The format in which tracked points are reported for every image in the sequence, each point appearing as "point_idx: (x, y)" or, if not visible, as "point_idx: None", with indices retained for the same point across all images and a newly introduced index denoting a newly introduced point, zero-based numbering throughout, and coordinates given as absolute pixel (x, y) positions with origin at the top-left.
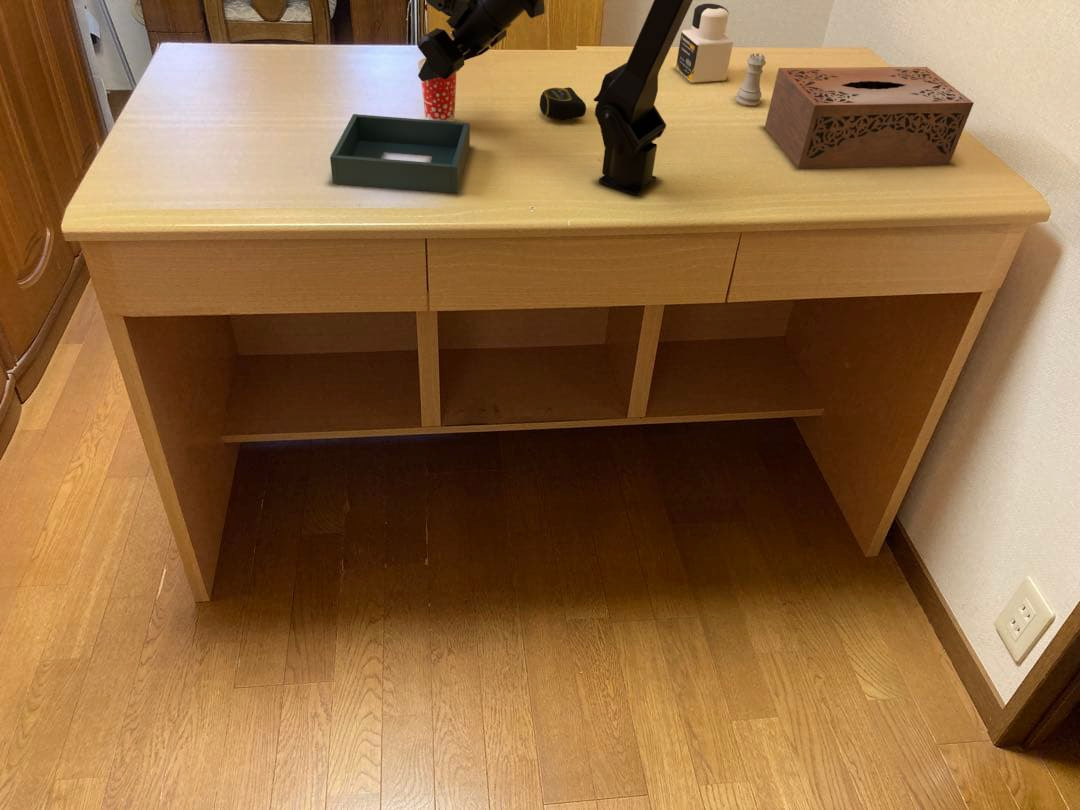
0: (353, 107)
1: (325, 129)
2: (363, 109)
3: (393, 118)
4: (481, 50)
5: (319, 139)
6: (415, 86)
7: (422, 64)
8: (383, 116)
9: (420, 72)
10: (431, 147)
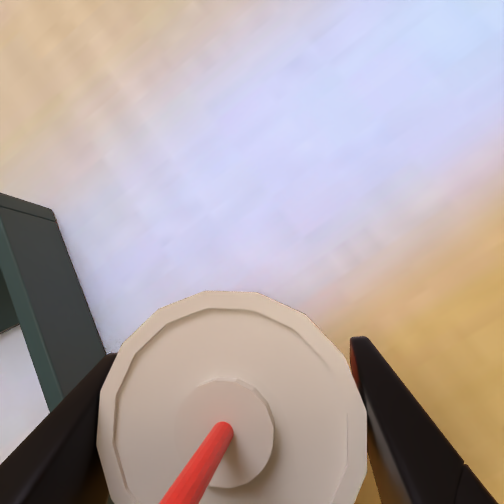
0: (218, 66)
1: (60, 106)
2: (223, 97)
3: (23, 324)
4: None
5: (7, 135)
6: (487, 105)
7: (155, 347)
8: (21, 284)
9: (85, 382)
10: None
